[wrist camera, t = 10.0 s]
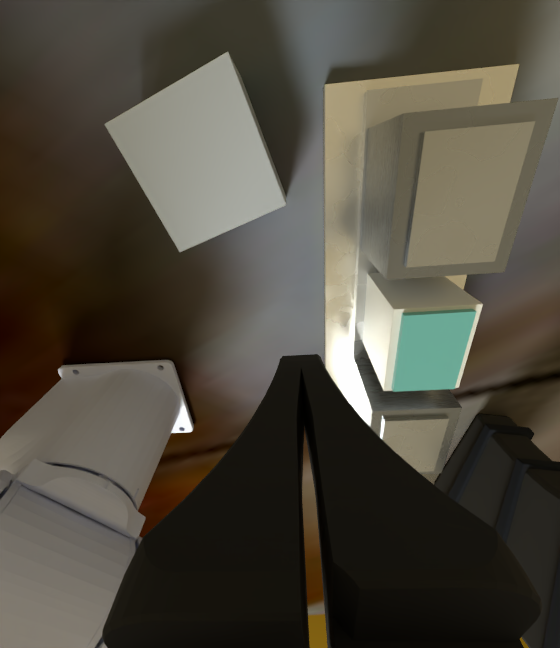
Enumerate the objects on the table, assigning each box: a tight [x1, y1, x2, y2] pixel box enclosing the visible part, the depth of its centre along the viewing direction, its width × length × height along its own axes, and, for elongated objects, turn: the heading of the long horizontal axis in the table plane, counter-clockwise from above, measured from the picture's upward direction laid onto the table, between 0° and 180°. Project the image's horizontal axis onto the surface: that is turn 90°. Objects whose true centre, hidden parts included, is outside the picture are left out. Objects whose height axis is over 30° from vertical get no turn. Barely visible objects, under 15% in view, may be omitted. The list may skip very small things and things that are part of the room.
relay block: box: [105, 52, 286, 252], centre depth 15 cm, size 6×6×4 cm
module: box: [363, 273, 483, 392], centre depth 17 cm, size 4×5×5 cm
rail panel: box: [323, 64, 558, 474], centre depth 17 cm, size 9×24×7 cm, turn 5°
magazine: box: [434, 414, 560, 648], centre depth 23 cm, size 4×13×15 cm, turn 174°
